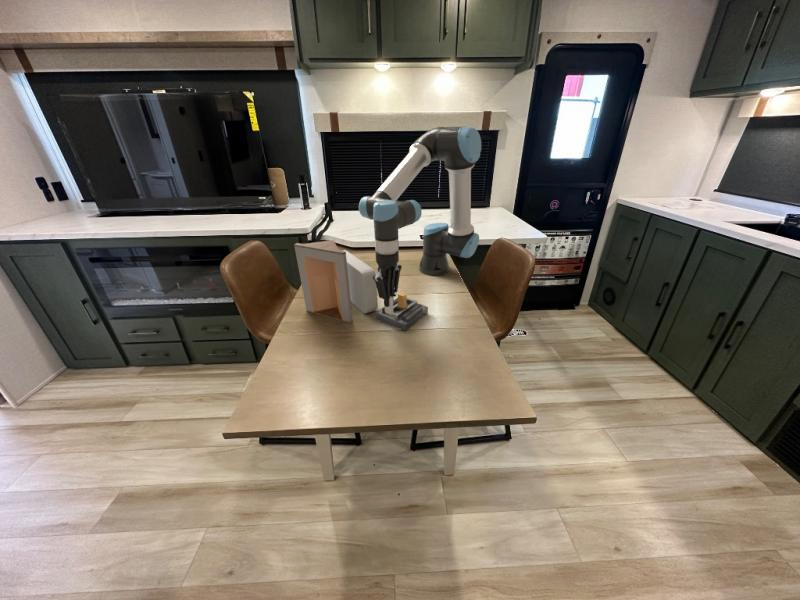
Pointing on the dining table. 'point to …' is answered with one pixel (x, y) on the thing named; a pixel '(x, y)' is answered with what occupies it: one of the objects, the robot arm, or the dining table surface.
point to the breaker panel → (396, 316)
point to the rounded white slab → (361, 284)
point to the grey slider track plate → (410, 313)
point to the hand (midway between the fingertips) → (389, 312)
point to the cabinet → (325, 279)
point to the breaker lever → (402, 301)
